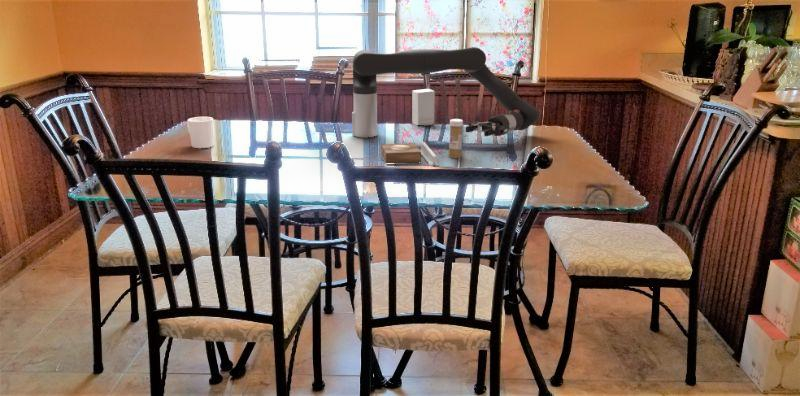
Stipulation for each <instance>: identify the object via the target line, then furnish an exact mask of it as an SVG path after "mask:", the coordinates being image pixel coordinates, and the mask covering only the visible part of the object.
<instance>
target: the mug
mask: <svg viewBox="0 0 800 396" xmlns="http://www.w3.org/2000/svg"><path fill="white" fill-rule="evenodd" d="M186 126H187V130H188V131H187V132H188V133H189V136H190V143H191V144H190V145H191V147H192V148H193V147H195V148H208V149H211V148H210V147H212V148H213V146H215V127H214V126H215V125H214V118H213V117H210V116H195V117H190V118H188V119H187V121H186Z"/></svg>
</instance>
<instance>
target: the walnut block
mask: <svg viewBox="0 0 800 396" xmlns="http://www.w3.org/2000/svg"><path fill="white" fill-rule="evenodd" d="M420 150H421V149H419V148H418V147H417V145H416V144H415V143H414V142H413V143H410V142H409V143H385V144H381V145H380V155H382V156H381V158H382V157H383V158H384V160H385V161H384V160H383V161H384V163H385V162H386V163H410V164H409V165H411V163H415V164H420V163H419V162H421V163H422V155H421V151H420ZM383 158H382V159H383ZM386 163H385V164H386Z"/></svg>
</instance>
